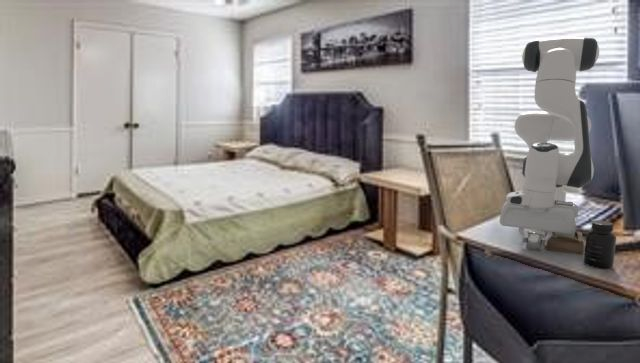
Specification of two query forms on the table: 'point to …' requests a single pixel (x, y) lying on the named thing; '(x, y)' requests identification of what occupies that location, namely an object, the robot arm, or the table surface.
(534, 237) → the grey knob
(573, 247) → the walnut base
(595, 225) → the supplement bottle
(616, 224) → the table surface
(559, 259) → the table surface
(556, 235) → the sage cube
